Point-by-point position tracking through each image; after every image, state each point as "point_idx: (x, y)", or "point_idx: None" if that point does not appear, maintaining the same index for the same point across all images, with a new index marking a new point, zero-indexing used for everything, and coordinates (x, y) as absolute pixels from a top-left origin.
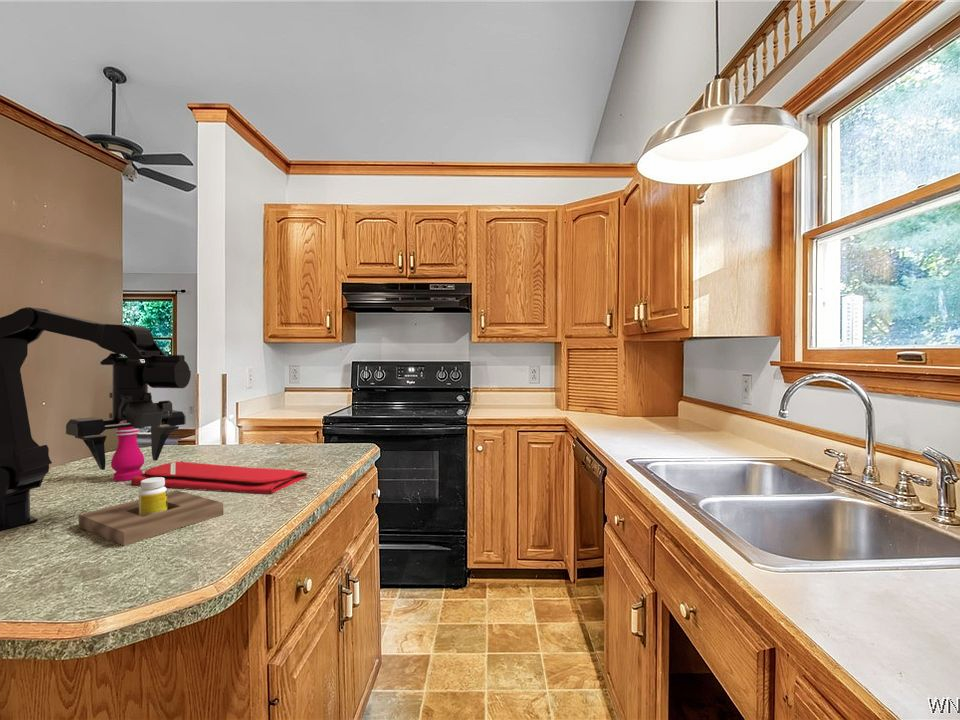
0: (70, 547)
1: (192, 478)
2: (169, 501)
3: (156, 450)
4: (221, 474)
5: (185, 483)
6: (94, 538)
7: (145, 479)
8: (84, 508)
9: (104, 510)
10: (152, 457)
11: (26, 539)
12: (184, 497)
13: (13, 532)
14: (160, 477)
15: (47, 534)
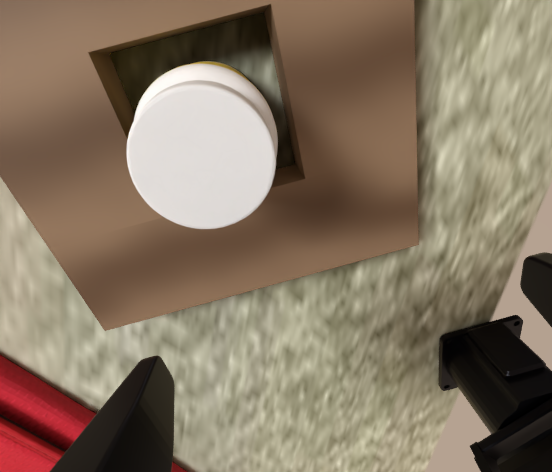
0: (485, 11)
1: (49, 442)
2: None
3: (124, 442)
4: None
5: (79, 426)
6: None
7: (242, 208)
8: (340, 377)
9: (354, 235)
10: (173, 404)
11: (507, 211)
12: (73, 207)
13: (496, 290)
14: (151, 194)
15: (465, 218)
